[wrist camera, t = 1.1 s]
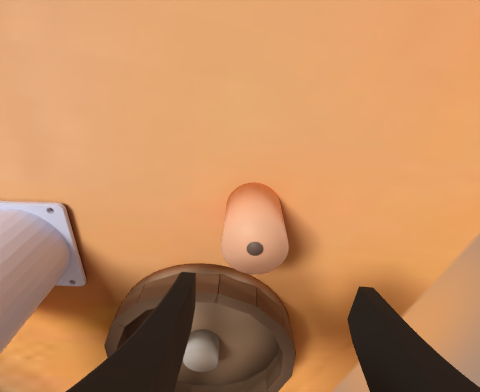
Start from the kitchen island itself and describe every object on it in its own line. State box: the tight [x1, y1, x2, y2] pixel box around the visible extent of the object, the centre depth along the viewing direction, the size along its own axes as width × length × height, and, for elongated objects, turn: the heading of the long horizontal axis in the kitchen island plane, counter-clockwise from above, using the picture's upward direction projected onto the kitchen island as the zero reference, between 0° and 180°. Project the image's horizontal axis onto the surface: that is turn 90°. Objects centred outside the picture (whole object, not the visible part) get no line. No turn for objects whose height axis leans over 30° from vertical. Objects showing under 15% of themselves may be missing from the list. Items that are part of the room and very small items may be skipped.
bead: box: [221, 183, 289, 274], centre depth 20 cm, size 4×4×5 cm
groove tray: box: [105, 264, 296, 392], centre depth 27 cm, size 16×16×3 cm
